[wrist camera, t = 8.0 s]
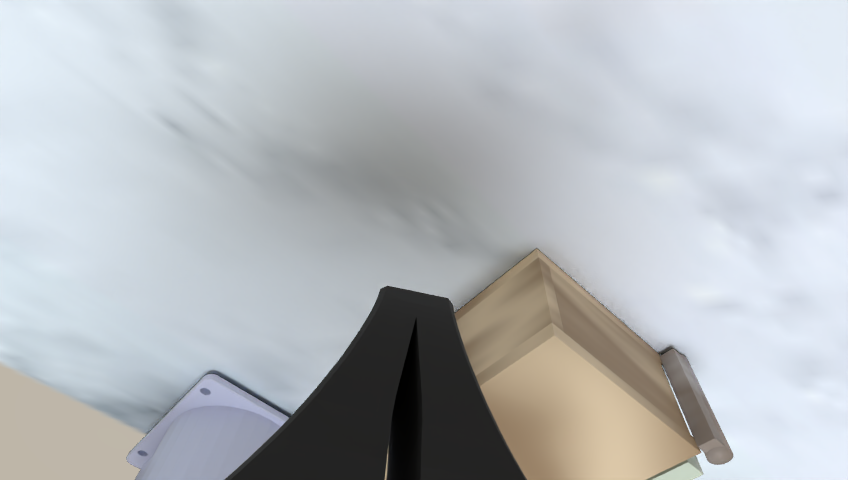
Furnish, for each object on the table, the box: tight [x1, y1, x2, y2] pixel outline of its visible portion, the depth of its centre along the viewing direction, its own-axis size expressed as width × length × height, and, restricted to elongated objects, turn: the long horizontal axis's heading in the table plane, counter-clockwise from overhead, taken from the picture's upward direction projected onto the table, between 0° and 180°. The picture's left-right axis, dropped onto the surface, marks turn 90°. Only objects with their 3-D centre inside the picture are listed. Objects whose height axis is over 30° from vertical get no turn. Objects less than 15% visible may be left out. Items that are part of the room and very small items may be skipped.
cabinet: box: [385, 249, 733, 480], centre depth 23 cm, size 12×9×5 cm
